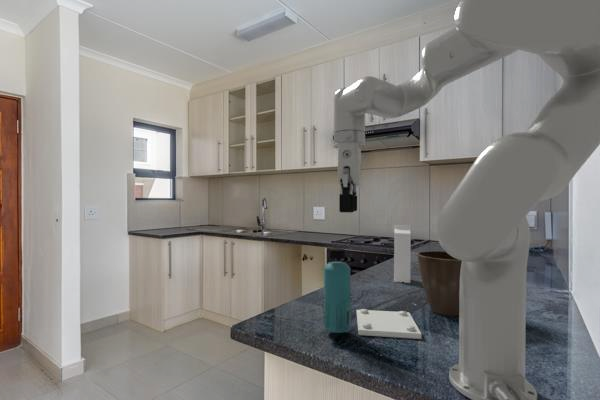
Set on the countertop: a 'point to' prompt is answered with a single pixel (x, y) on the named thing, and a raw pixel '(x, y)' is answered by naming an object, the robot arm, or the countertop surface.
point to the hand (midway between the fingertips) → (348, 211)
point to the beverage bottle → (337, 293)
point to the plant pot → (441, 281)
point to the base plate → (387, 324)
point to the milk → (402, 253)
